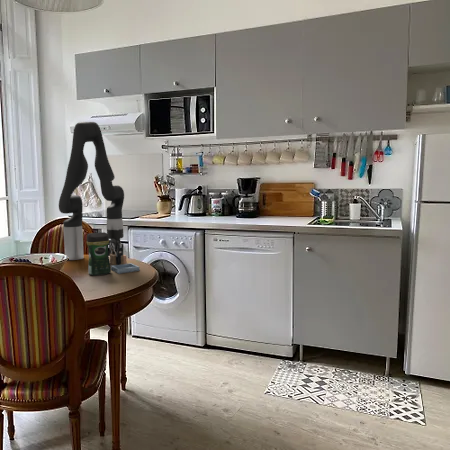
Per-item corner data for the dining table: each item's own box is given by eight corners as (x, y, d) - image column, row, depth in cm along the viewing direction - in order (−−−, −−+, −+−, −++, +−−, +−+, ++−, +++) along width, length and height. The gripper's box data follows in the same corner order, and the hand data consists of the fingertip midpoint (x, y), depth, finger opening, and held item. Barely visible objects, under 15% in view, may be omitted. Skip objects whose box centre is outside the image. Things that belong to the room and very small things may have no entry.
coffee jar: (108, 270, 198) (106, 230, 196) (112, 274, 191) (110, 232, 189) (86, 273, 194) (84, 232, 191) (90, 276, 187) (88, 234, 184)
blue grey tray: (110, 269, 200) (110, 265, 200) (131, 266, 206) (131, 263, 205) (118, 273, 192) (118, 269, 192) (139, 270, 197) (139, 266, 197)
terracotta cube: (115, 263, 215) (115, 255, 214) (123, 262, 217) (123, 254, 216) (118, 264, 211) (118, 256, 211) (126, 263, 214) (126, 255, 213)
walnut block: (110, 266, 206) (109, 254, 205) (120, 265, 209) (119, 252, 208) (113, 268, 202) (113, 256, 201) (123, 267, 205) (123, 254, 204)
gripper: (102, 227, 207) (104, 261, 209) (112, 230, 195) (114, 266, 197) (117, 226, 211) (118, 260, 213) (128, 228, 199) (129, 264, 201)
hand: (116, 263), depth 205 cm, fingers closed on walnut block, 5 cm apart
